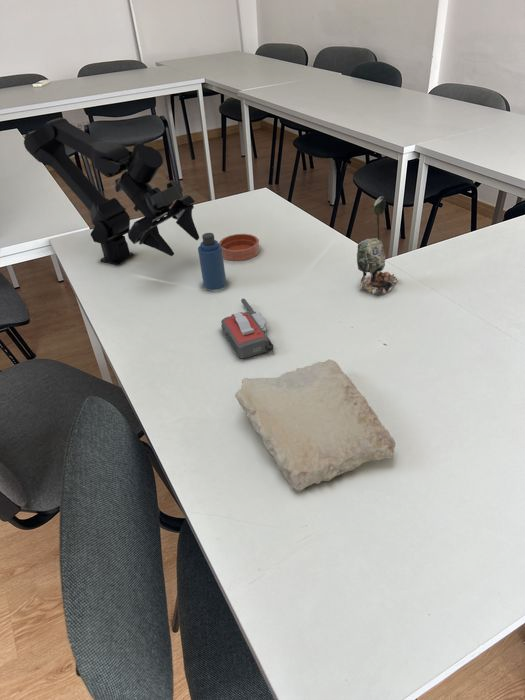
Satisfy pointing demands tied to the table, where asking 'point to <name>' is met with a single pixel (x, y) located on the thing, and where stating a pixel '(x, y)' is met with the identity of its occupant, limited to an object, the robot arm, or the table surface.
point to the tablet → (314, 423)
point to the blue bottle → (211, 263)
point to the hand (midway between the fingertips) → (185, 246)
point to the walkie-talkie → (247, 332)
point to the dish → (240, 247)
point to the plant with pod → (374, 260)
